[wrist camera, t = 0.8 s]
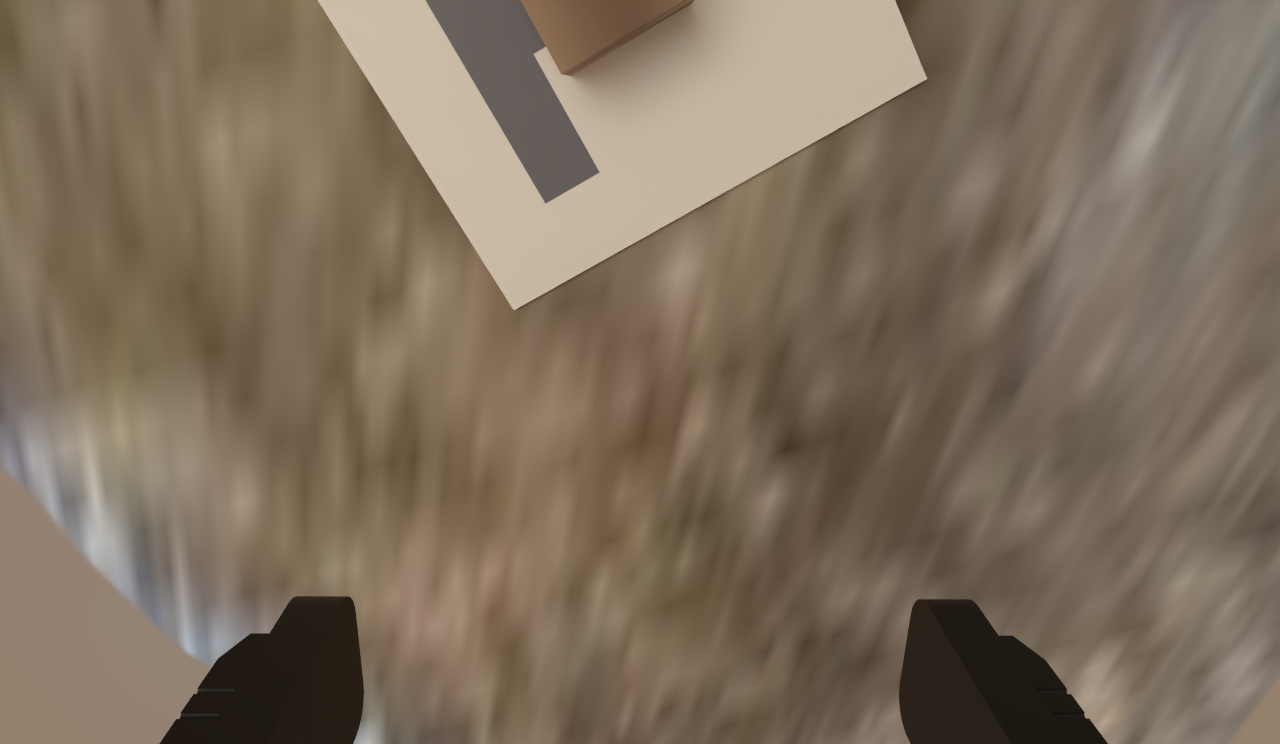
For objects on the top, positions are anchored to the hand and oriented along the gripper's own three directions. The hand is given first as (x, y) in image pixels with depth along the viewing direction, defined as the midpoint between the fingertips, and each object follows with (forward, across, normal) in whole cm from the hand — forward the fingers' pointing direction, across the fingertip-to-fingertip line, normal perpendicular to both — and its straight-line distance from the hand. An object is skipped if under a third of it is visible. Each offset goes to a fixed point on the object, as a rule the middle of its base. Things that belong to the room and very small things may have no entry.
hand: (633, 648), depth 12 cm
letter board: (+22, +1, -11) cm, 25 cm away
